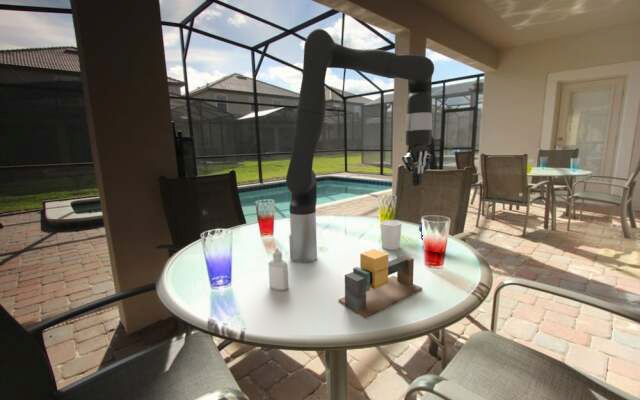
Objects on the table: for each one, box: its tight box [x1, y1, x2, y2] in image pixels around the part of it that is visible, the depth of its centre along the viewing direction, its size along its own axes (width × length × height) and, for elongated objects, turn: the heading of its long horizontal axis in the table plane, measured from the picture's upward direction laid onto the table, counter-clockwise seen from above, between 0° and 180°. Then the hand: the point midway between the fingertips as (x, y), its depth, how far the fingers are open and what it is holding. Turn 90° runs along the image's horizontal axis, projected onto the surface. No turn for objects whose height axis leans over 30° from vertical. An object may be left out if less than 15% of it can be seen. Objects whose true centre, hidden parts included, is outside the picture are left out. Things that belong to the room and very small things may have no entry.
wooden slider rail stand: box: [338, 254, 423, 319], centre depth 78 cm, size 22×10×9 cm, turn 127°
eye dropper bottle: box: [268, 247, 290, 291], centre depth 84 cm, size 4×6×12 cm
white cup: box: [380, 219, 403, 251], centre depth 115 cm, size 8×8×10 cm
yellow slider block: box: [359, 249, 389, 289], centre depth 76 cm, size 5×5×8 cm
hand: (416, 185), depth 93 cm, fingers closed
